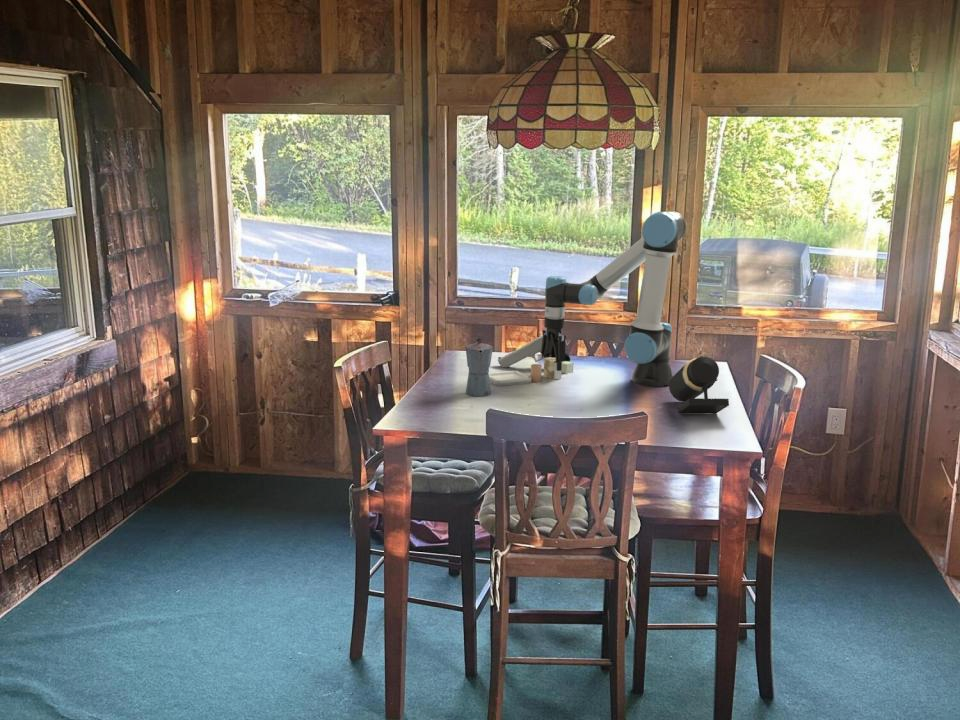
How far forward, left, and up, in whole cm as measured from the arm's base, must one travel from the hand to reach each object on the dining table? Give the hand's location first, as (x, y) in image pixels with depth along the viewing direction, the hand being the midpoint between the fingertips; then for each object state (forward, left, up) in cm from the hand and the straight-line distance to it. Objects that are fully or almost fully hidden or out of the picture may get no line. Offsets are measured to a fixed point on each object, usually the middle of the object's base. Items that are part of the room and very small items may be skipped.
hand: (552, 376), depth 344 cm
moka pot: (-11, +37, -1) cm, 39 cm away
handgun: (+15, 0, -1) cm, 15 cm away
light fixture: (-57, -22, -1) cm, 61 cm away
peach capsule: (-3, +9, 0) cm, 10 cm away
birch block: (0, 0, 0) cm, 0 cm away
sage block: (+5, -9, 0) cm, 10 cm away
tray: (+1, +19, 0) cm, 19 cm away
